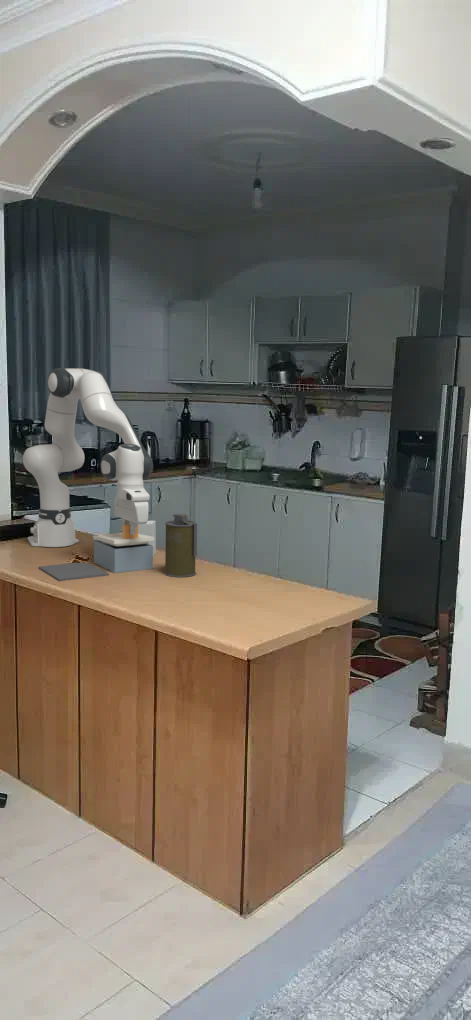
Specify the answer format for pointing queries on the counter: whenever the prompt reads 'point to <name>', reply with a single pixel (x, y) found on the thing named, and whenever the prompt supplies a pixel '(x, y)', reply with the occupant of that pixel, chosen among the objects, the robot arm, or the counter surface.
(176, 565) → the canister
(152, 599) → the counter surface
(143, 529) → the supplement box
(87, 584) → the counter surface
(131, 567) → the grey storage box
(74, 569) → the mat
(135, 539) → the lid
